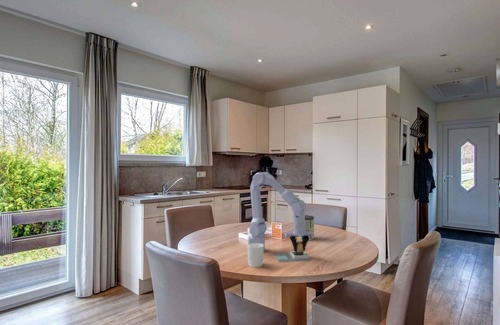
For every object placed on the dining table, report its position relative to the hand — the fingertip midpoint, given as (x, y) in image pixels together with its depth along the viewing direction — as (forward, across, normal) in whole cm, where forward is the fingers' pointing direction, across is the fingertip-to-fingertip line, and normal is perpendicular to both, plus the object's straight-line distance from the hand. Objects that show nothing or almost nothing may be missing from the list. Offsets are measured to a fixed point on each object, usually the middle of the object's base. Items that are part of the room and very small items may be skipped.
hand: (299, 250), depth 148 cm
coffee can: (+4, +16, +37) cm, 41 cm away
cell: (+2, 0, 0) cm, 2 cm away
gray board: (+4, -4, 0) cm, 6 cm away
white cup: (+4, -24, -8) cm, 26 cm away
